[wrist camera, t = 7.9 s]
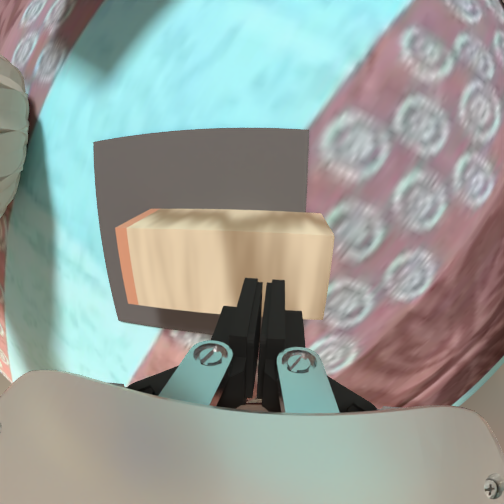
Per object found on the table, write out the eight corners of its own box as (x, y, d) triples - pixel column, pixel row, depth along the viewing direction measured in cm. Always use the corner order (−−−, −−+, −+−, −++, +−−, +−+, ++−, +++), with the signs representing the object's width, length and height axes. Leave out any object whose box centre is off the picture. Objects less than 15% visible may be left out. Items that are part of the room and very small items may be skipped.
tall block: (334, 235, 13) (115, 227, 14) (322, 319, 15) (128, 303, 16) (320, 213, 18) (151, 208, 19) (314, 280, 20) (157, 271, 21)
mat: (308, 130, 17) (308, 130, 16) (293, 337, 22) (293, 339, 22) (95, 142, 18) (93, 142, 18) (120, 318, 24) (118, 320, 23)
